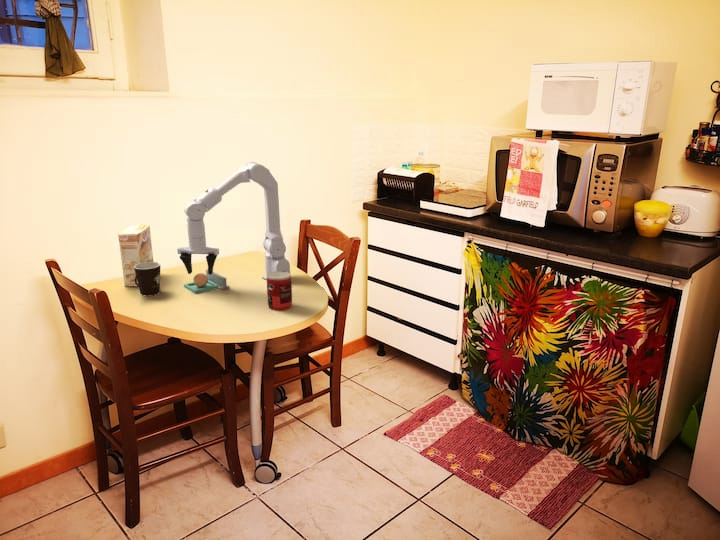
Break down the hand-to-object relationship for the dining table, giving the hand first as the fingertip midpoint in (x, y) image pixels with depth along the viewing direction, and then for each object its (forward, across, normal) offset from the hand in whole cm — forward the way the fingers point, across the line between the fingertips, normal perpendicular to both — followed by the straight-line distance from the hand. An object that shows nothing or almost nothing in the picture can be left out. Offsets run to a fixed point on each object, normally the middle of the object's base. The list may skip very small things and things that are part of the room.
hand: (200, 273), depth 194 cm
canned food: (+6, -32, +15) cm, 36 cm away
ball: (+5, 0, 0) cm, 5 cm away
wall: (+5, -4, -4) cm, 8 cm away
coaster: (+5, 0, 0) cm, 5 cm away
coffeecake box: (+6, +26, -6) cm, 27 cm away
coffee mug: (+6, +16, +9) cm, 19 cm away
